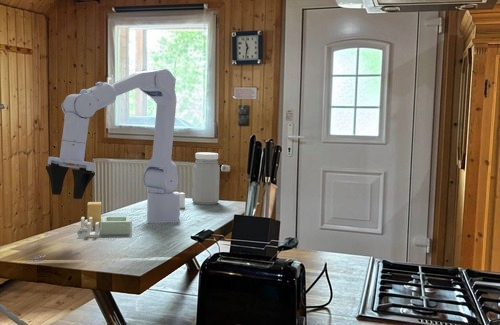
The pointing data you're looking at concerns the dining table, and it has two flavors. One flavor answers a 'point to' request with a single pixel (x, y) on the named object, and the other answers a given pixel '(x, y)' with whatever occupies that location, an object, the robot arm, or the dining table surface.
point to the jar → (206, 179)
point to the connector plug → (94, 212)
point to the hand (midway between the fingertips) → (66, 196)
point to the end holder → (115, 225)
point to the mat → (83, 234)
